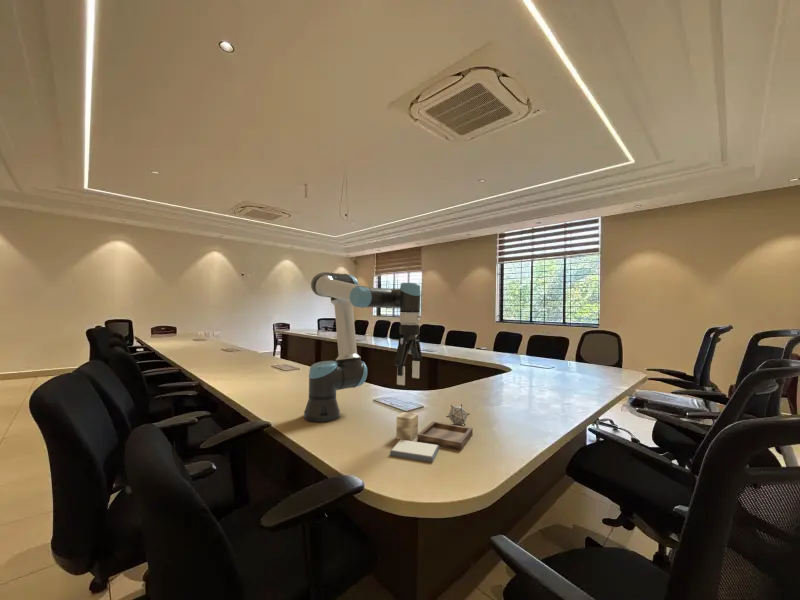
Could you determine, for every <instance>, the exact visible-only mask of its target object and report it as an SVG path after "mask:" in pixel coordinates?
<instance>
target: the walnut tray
mask: <svg viewBox="0 0 800 600" xmlns="http://www.w3.org/2000/svg"><path fill="white" fill-rule="evenodd" d="M473 429H474V428H472V427H467V426H461V425H454V424H451V423H445V422H440V421H434V420H433V421H432V422H430V423H429V424H428V425H427V426H425V427H424V428H423V429H422V430H421V431H420V432H418V436H417V437H416V439H417V441H416V442H421V443H427V444H434V445H438V446H439V447H443V448H448V449H453V450H456V451H457V450H458V451H462V450H463V449H464V448H465V446H466V444H467V443H468V442H469V440H470V439H471V438H472V436H473Z"/></svg>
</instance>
